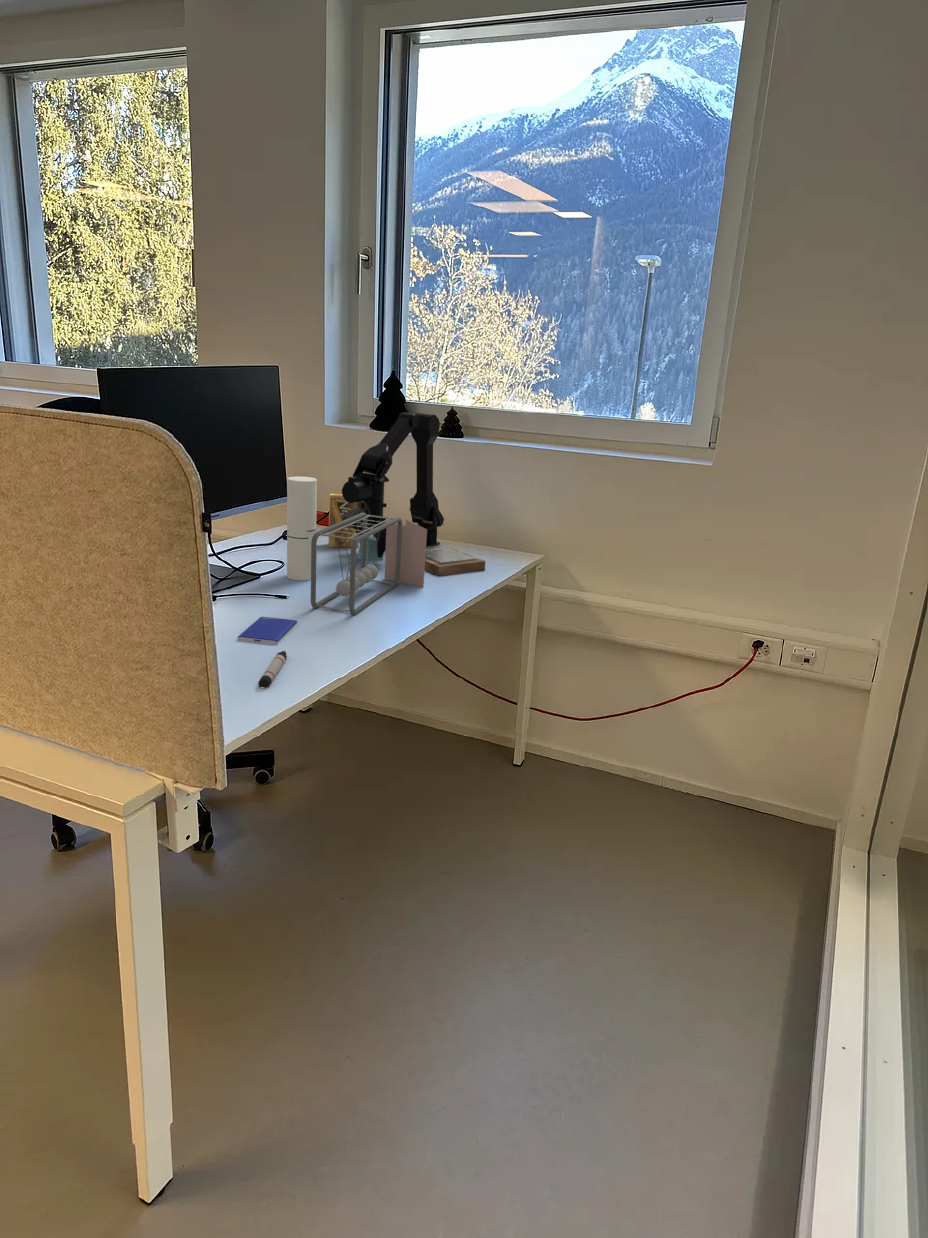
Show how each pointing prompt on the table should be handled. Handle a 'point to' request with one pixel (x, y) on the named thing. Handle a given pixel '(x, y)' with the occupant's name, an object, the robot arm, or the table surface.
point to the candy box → (336, 515)
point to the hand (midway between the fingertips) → (371, 553)
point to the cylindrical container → (300, 525)
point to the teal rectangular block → (371, 550)
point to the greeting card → (406, 553)
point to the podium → (451, 562)
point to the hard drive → (268, 630)
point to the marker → (272, 670)
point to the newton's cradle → (355, 562)
